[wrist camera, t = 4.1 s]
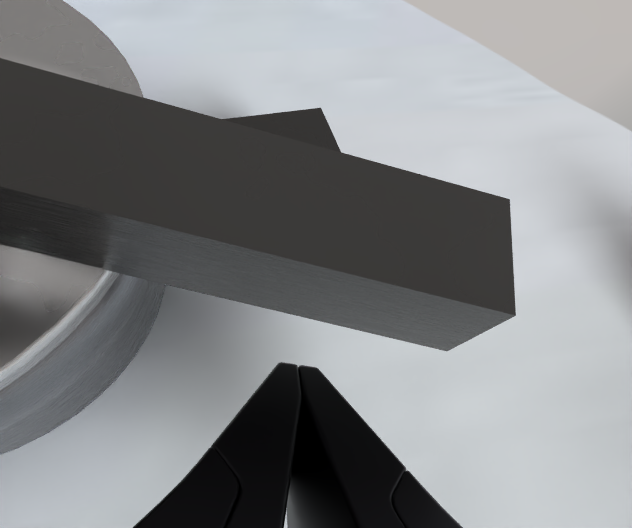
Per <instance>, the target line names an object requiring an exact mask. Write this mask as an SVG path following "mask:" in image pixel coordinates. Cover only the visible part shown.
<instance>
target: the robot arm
mask: <svg viewBox="0 0 632 528" xmlns="http://www.w3.org/2000/svg"><path fill="white" fill-rule="evenodd" d="M286 507H287V524H288V528H463V527H461V526H460V525H459V524H458V523H457V522H456V521H455V520H454V519H453V518H452V517H451V516H450V515H449V514H448V513H447V512H446V511H445V510H444V509H443V508H442V507H441V506H440V504H439V503H438V502H437V501H436V500H435V499H434V498H433V497H432V496H431V495H430V494H429V493H428V492H427V490H426V489H425V488H424V487H423V486H422V485H421V484H420V483H419V482H418V481H417V479H416V478H415V477H414V476H413V475H412V474H411V473H410V472H409V471H406V467H405V466H404V465H403V464H402V463H401V462H400V461H399V459H398V458H397V457H396V456H395V455H394V454H393V453H392V451H391V450H390V449H389V448H388V447H387V446H386V445H385V444H384V442H383V441H382V440H381V439H380V438H379V437H378V436H377V435H376V433H375V432H374V431H373V430H372V429H371V428H370V427H369V426H368V424H367V423H366V422H365V421H364V420H363V419H362V418H361V416H360V415H359V414H358V413H357V412H356V411H355V410H354V409H353V407H352V406H351V405H350V404H349V403H348V402H347V401H346V400H345V398H344V397H343V396H342V395H341V394H340V393H339V392H338V391H337V389H336V388H335V387H334V386H333V385H332V384H331V383H330V381H329V380H328V379H327V378H326V377H325V376H324V375H323V374H322V372H321V371H320V370H319V369H318V368H316V367H310V366H303V365H301V366H299V367H298V366H297V365H295V364H289V363H283V362H280V363H278V364H277V365H276V367H275V368H274V369H273V370H272V372H271V373H270V374H269V375H268V377H267V378H266V379H265V380H264V382H263V383H262V384H261V385H260V386H259V388H258V389H257V390H256V391H255V393H254V394H253V395H252V396H251V398H250V399H249V400H248V401H247V403H246V404H245V405H244V406H243V407H242V409H241V410H240V411H239V412H238V414H237V415H236V416H235V417H234V419H233V420H232V421H231V422H230V424H229V425H228V426H227V427H226V428H225V430H224V431H223V432H222V433H221V435H220V436H219V437H218V438H217V440H216V441H215V442H214V443H213V445H212V446H211V448H209V449H208V450H207V452H206V453H205V454H204V455H203V457H202V458H201V459H200V460H199V462H198V463H197V464H196V465H195V466H194V467H193V468H192V470H191V471H190V472H189V473H188V474H187V475H186V476H185V477H184V479H183V480H182V481H181V482H180V483H179V484H178V485H177V486H176V487H175V488H174V489H173V490H172V491H171V492H170V493H169V494H168V495H167V496H166V497H165V498H164V499H163V500H162V501H161V502H160V503H159V504H157V505H156V506H155V507H154V508H153V509H152V510H151V511H150V512H149V513H148V514H147V515H146V516H145V517H144V518H142V519H141V520H140V521H139V522H138V523H137V524H136V525H135V526H134V527H133V528H284V521H285V514H286Z"/></svg>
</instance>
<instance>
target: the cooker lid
mask: <svg viewBox="0 0 632 528" xmlns="http://www.w3.org/2000/svg"><path fill="white" fill-rule="evenodd" d="M119 274H124V275H128V276H133V277H137V278H141V279H145V280H149V281H154V282H158V283H162V284H166V285H170V286H175V287H179V288H183V289H187V290H191V291H196V292H200V293H204V294H208V295H212V296H217V297H221V298H225V299H229V300H233V301H238V302H242V303H246V304H250V305H255V306H259V307H263V308H267V309H271V310H276V311H280V312H284V313H288V314H292V315H297V316H301V317H305V318H309V319H313V320H318V321H322V322H326V323H330V324H334V325H339V326H343V327H347V328H351V329H355V330H360V331H364V332H368V333H372V334H376V335H381V336H385V337H389V338H393V339H398V340H402V341H406V342H410V343H414V344H419V345H423V346H427V347H431V348H435V349H440V350H444V351H449V350H451V349H452V348H454V347H456V346H458V345H460V344H462V343H464V342H466V341H468V340H470V339H472V338H474V337H475V336H477V335H479V334H481V333H483V332H485V331H487V330H489V329H491V328H493V327H495V326H497V325H499V324H500V323H502V322H504V321H506V320H508V319H510V318H512V317H514V316H516V312H515V293H514V274H513V255H512V236H511V217H510V199H507V198H503V197H499V196H496V195H492V194H489V193H485V192H481V191H478V190H474V189H471V188H467V187H463V186H460V185H456V184H453V183H449V182H445V181H442V180H438V179H435V178H431V177H427V176H424V175H420V174H417V173H413V172H409V171H406V170H402V169H399V168H395V167H391V166H388V165H384V164H381V163H377V162H373V161H370V160H366V159H363V158H359V157H355V156H352V155H348V154H344V153H341V152H337V151H334V150H330V149H326V148H323V147H319V146H316V145H312V144H308V143H305V142H301V141H298V140H294V139H290V138H287V137H283V136H280V135H276V134H272V133H269V132H265V131H262V130H258V129H254V128H251V127H247V126H244V125H240V124H236V123H233V122H229V121H226V120H222V119H218V118H215V117H211V116H208V115H204V114H200V113H197V112H193V111H190V110H186V109H182V108H179V107H175V106H172V105H168V104H164V103H161V102H157V101H154V100H150V99H146V98H143V95H142V92H141V89H140V86H139V83H138V81H137V79H136V77H135V75H134V74H133V72H132V70H131V68H130V66H129V65H128V63H127V61H126V59H125V58H124V57H123V55H122V54H121V53H120V51H119V50H118V49H117V48H116V46H115V45H114V44H113V43H112V41H111V40H110V39H109V38H108V37H107V36H106V35H105V34H104V33H103V32H102V31H101V30H100V29H99V28H98V27H97V26H96V25H95V24H94V23H92V22H91V21H90V20H89V19H88V18H86V17H85V16H84V15H82V14H81V13H80V12H78V11H77V10H75V9H74V8H73V7H71V6H70V5H69V4H67V3H65V2H64V1H62V0H0V391H1V390H2V389H3V388H5V387H6V386H8V385H9V384H10V383H12V382H13V381H15V380H16V379H17V378H19V377H20V376H22V375H23V374H24V373H26V372H27V371H29V370H30V369H31V368H33V367H34V366H35V365H36V364H37V363H38V362H39V361H41V360H42V359H43V358H44V357H45V356H46V355H47V354H49V353H50V352H51V351H52V350H53V349H54V348H55V347H57V346H58V345H59V344H60V343H61V342H62V341H63V340H65V339H66V338H67V337H68V336H69V335H70V334H71V333H72V332H73V331H74V330H75V328H76V327H77V326H78V325H79V324H80V323H81V322H82V321H83V320H84V319H85V318H86V316H87V315H88V314H89V313H90V312H91V311H92V310H93V309H94V308H95V307H96V305H97V304H98V303H99V302H100V301H101V299H102V298H103V296H104V295H105V294H106V292H107V291H108V289H109V288H110V287H111V285H112V284H113V282H114V281H115V280H116V278H117V277H118V275H119Z"/></svg>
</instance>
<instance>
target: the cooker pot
mask: <svg viewBox="0 0 632 528" xmlns="http://www.w3.org/2000/svg"><path fill="white" fill-rule="evenodd" d="M222 120H226V121H229V122H233V123H236V124H240V125H244V126H247V127H251V128H254V129H258V130H262V131H265V132H269V133H272V134H276V135H280V136H283V137H287V138H290V139H294V140H298V141H301V142H305V143H308V144H312V145H316V146H319V147H323V148H326V149H330V150H334V151H337V152H341V151H340V149H339V147H338V145H337V142H336V140H335V138H334V136H333V134H332V131H331V129H330V127H329V125H328V123H327V120H326V118H325V116H324V114H323V112H322V109H321V108H315V109H307V110H298V111H290V112H281V113H273V114H264V115H256V116H247V117H239V118H230V119H222ZM164 288H165V284H162V283H158V282H154V281H149V280H145V279H141V278H137V277H133V276H128V275H124V274H119V275H118V277H117V278H116V280H115V281H114V282H113V284H112V285H111V287H110V288H109V289H108V291H107V292H106V294H105V295H104V296H103V298H102V299H101V301H100V302H99V303H98V304H97V305H96V307H95V308H94V309H93V310H92V311H91V312H90V313H89V314H88V315H87V316H86V318H85V319H84V320H83V321H82V322H81V323H80V324H79V325H78V326H77V327H76V328H75V330H74V331H73V332H72V333H71V334H70V335H69V336H68V337H67V338H66V339H65V340H63V341H62V342H61V343H60V344H59V345H58V346H57V347H55V348H54V349H53V350H52V351H51V352H50V353H49V354H47V355H46V356H45V357H44V358H43V359H42V360H41V361H39V362H38V363H37V364H36V365H35V366H34V367H33V368H31V369H30V370H29V371H27V372H26V373H24V374H23V375H22V376H20V377H19V378H17V379H16V380H15V381H13V382H12V383H10V384H9V385H8V386H6V387H5V388H3V389H2V390H1V391H0V454H3V453H6V452H8V451H11V450H14V449H16V448H19V447H21V446H23V445H25V444H27V443H29V442H31V441H33V440H35V439H37V438H39V437H41V436H43V435H45V434H47V433H49V432H50V431H52V430H53V429H55V428H56V427H58V426H60V425H61V424H63V423H64V422H66V421H67V420H69V419H70V418H72V417H74V416H75V415H76V414H78V413H79V412H80V411H81V410H83V409H84V408H85V407H86V406H88V405H89V404H90V403H91V402H93V401H94V400H95V399H96V398H98V397H99V396H100V395H101V394H102V393H103V392H104V391H105V390H106V389H107V388H108V387H109V386H110V385H111V384H112V383H113V382H114V381H115V380H116V379H117V378H118V377H119V375H120V374H121V373H122V372H123V370H124V369H125V368H126V367H127V365H128V364H129V363H130V362H131V360H132V359H133V358H134V357H135V355H136V353H137V352H138V350H139V349H140V347H141V345H142V344H143V342H144V341H145V339H146V337H147V336H148V334H149V331H150V329H151V327H152V325H153V323H154V321H155V318H156V316H157V314H158V310H159V307H160V304H161V301H162V297H163V294H164Z"/></svg>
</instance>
